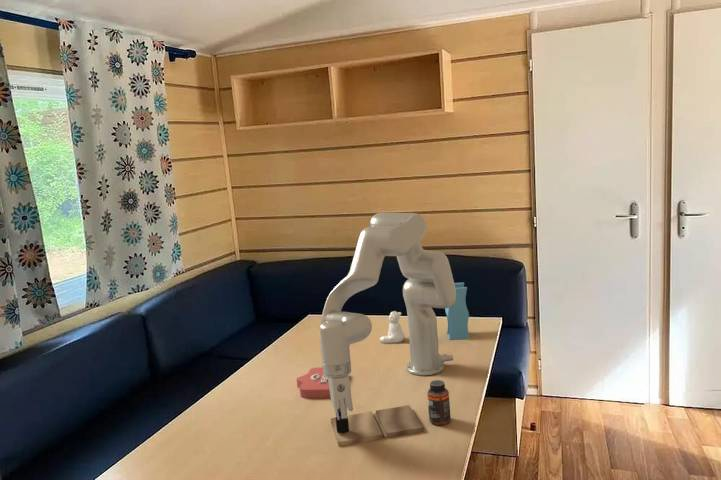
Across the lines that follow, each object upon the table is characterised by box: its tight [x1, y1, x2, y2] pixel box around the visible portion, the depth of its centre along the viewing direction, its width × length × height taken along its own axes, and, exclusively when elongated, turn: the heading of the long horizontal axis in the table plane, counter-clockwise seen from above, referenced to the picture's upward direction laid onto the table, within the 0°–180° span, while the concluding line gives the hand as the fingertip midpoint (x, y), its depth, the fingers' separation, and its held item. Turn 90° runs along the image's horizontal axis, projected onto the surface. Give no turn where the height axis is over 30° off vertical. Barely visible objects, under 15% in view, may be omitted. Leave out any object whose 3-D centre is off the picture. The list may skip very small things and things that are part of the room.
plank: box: [330, 411, 384, 447], centre depth 167 cm, size 12×14×1 cm
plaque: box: [296, 366, 331, 399], centre depth 198 cm, size 18×4×15 cm
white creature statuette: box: [379, 310, 405, 344], centre depth 233 cm, size 10×9×12 cm
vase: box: [444, 282, 470, 341], centre depth 232 cm, size 8×8×20 cm
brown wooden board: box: [372, 404, 424, 439], centre depth 169 cm, size 11×14×1 cm
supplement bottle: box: [426, 379, 451, 426], centre depth 167 cm, size 6×6×11 cm
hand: (342, 431), depth 164 cm, fingers closed
